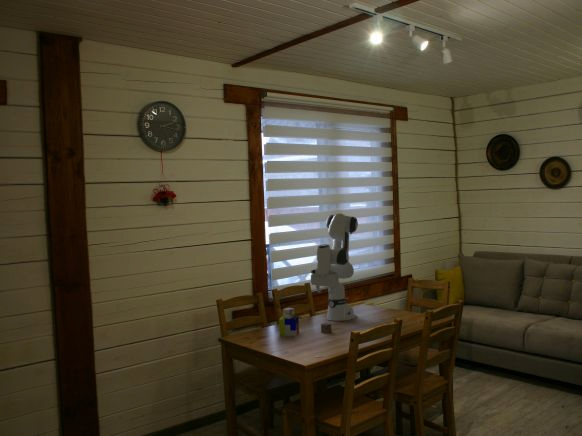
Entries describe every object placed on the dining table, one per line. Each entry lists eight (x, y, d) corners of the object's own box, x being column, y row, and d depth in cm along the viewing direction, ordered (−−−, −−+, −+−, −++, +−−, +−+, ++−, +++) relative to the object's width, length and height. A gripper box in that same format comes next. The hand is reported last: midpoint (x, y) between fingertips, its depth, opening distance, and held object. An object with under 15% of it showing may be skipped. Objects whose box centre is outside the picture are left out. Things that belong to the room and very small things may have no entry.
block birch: (288, 316, 323) (288, 307, 322) (294, 317, 319) (294, 308, 319) (282, 317, 319) (282, 309, 319) (288, 318, 316) (288, 309, 315)
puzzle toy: (295, 336, 313) (295, 319, 313) (279, 335, 315) (279, 319, 315) (298, 332, 323) (298, 316, 323) (283, 331, 325) (282, 315, 325)
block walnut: (325, 330, 324) (325, 322, 324) (331, 331, 321) (331, 323, 321) (321, 332, 321) (321, 324, 321) (326, 333, 318) (326, 325, 318)
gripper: (340, 271, 315) (341, 294, 315) (315, 269, 330) (316, 291, 330) (334, 272, 311) (334, 295, 311) (308, 270, 325) (309, 292, 325)
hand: (325, 293), depth 320 cm, fingers open, 8 cm apart
